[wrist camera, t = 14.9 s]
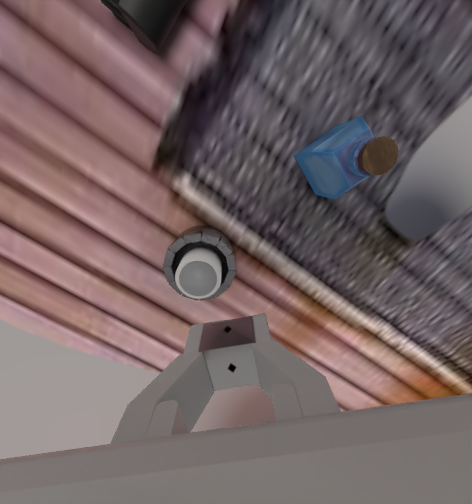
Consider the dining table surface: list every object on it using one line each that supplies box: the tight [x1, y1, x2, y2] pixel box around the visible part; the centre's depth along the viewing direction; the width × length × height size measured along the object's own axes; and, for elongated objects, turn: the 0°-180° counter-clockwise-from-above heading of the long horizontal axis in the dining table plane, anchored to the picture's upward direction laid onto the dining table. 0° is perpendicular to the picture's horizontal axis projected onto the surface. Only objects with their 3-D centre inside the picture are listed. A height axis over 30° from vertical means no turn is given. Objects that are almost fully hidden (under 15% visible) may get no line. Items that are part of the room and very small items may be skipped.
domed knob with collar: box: [163, 226, 236, 300], centre depth 33 cm, size 9×9×5 cm
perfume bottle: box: [294, 116, 398, 199], centre depth 26 cm, size 6×6×12 cm
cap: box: [175, 244, 222, 299], centre depth 30 cm, size 5×5×5 cm
